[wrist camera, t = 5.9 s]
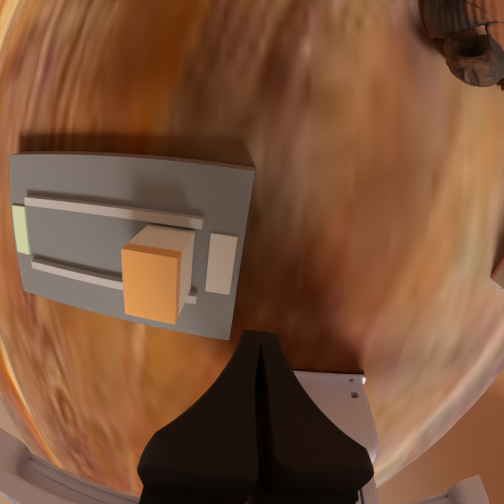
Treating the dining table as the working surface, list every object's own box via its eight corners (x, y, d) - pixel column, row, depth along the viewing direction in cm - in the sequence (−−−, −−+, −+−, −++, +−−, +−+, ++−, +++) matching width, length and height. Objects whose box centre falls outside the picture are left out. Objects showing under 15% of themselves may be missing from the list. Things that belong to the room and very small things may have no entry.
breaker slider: (195, 231, 18) (177, 258, 14) (190, 288, 19) (175, 324, 15) (148, 224, 18) (121, 248, 14) (147, 280, 19) (125, 314, 15)
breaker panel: (255, 167, 18) (254, 172, 16) (231, 324, 23) (228, 345, 20) (24, 151, 18) (4, 156, 15) (35, 280, 22) (20, 294, 20)
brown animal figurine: (433, -31, 11) (520, -29, 4) (472, 52, 17) (546, 68, 10) (385, 26, 12) (517, 32, 6) (437, 130, 18) (532, 162, 11)
